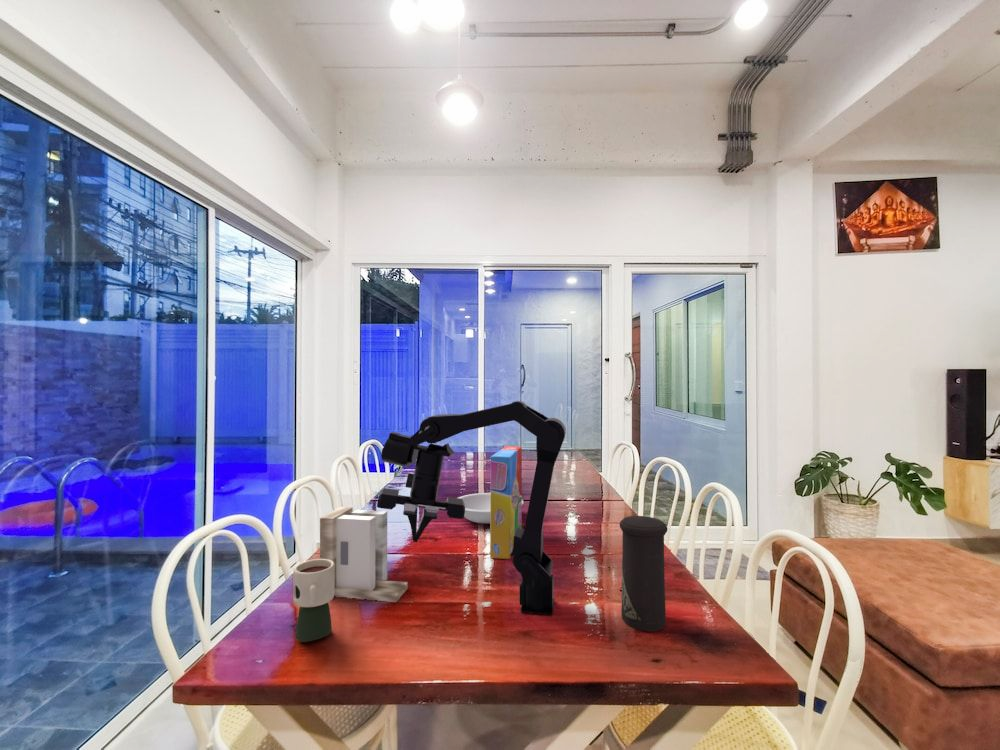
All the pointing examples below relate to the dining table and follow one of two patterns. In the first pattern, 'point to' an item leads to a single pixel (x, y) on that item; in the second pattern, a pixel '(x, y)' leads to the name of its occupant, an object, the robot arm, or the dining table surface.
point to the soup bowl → (478, 507)
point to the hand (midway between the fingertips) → (415, 541)
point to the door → (355, 552)
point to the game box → (505, 500)
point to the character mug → (313, 598)
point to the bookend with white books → (383, 588)
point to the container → (643, 573)
